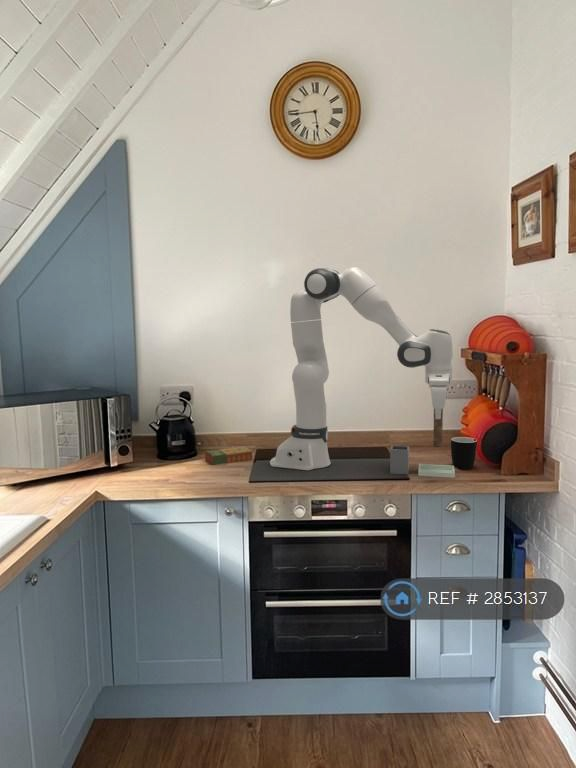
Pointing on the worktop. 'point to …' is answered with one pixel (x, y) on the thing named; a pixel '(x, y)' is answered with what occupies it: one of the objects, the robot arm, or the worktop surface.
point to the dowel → (438, 430)
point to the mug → (463, 452)
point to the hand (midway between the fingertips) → (437, 417)
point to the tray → (436, 470)
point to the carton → (228, 455)
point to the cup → (399, 460)
